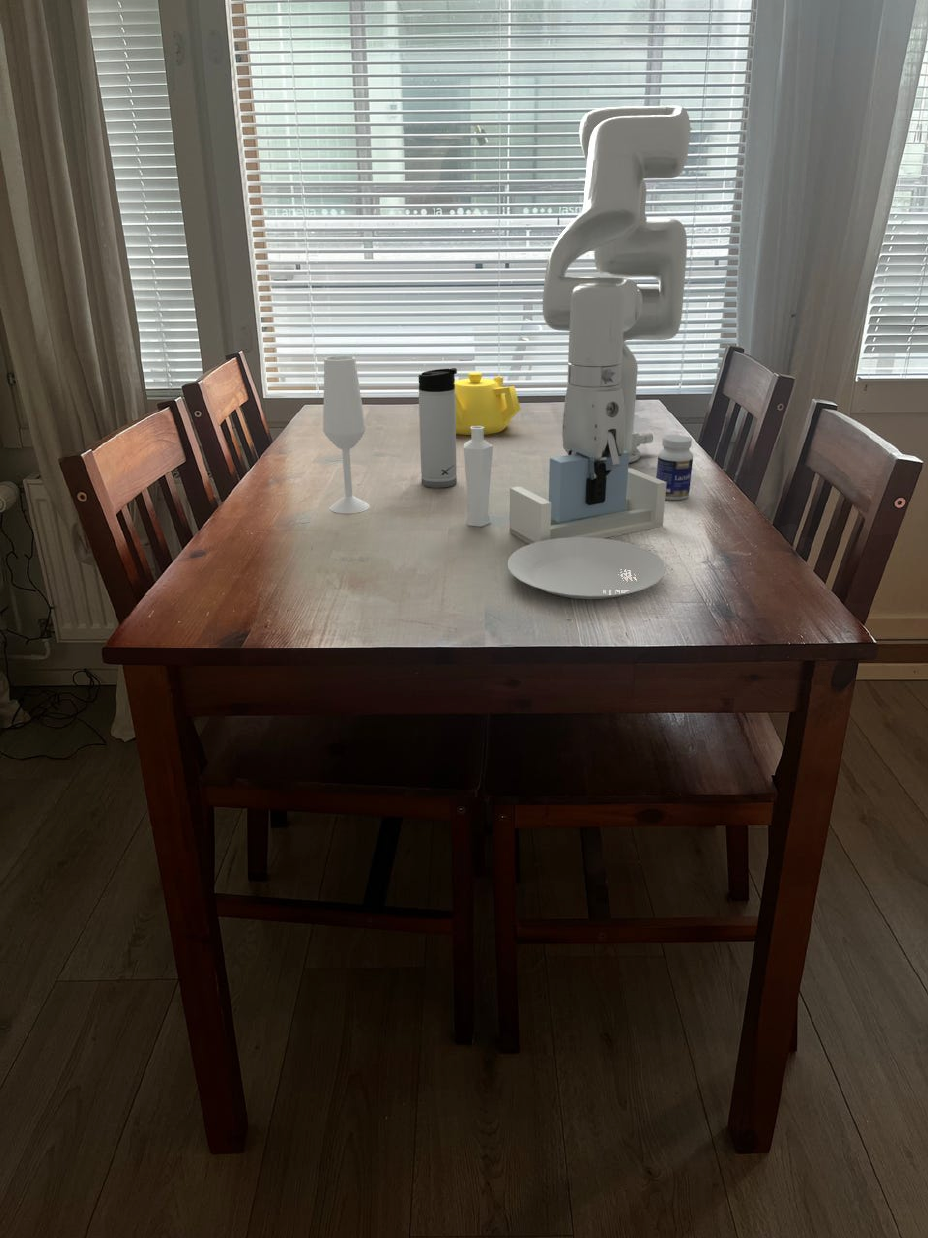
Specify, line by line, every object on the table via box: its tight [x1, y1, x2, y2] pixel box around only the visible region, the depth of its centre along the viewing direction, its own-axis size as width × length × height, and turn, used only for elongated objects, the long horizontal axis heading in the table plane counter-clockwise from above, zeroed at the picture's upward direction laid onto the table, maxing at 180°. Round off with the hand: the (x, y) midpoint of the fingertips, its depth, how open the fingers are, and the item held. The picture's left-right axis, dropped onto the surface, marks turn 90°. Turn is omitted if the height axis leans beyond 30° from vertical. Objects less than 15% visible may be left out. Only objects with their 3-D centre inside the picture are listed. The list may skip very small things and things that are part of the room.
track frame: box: [509, 467, 667, 545], centre depth 138 cm, size 22×9×7 cm, turn 117°
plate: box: [507, 537, 667, 600], centre depth 121 cm, size 21×21×2 cm
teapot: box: [454, 371, 521, 436], centre depth 197 cm, size 17×17×12 cm
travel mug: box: [418, 367, 458, 489], centre depth 158 cm, size 6×7×20 cm
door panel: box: [548, 450, 630, 522], centre depth 136 cm, size 12×3×9 cm, turn 117°
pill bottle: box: [655, 434, 694, 501], centre depth 152 cm, size 6×6×10 cm
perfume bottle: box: [463, 426, 494, 528], centre depth 140 cm, size 5×4×15 cm
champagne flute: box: [322, 355, 371, 514], centre depth 145 cm, size 7×7×24 cm
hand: (588, 498), depth 137 cm, fingers closed on door panel, 3 cm apart
